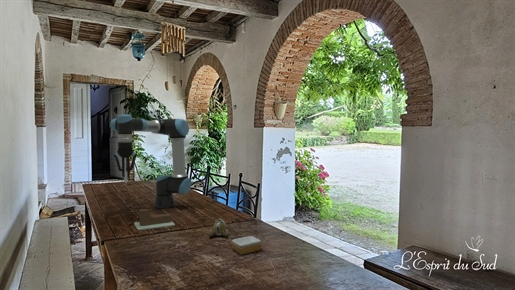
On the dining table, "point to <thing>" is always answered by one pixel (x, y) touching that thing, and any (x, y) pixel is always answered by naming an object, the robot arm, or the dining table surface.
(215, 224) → the ceramic sculpture
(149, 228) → the mat
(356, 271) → the dining table surface
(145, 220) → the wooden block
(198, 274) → the dining table surface
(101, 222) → the dining table surface
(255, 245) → the soap dish
